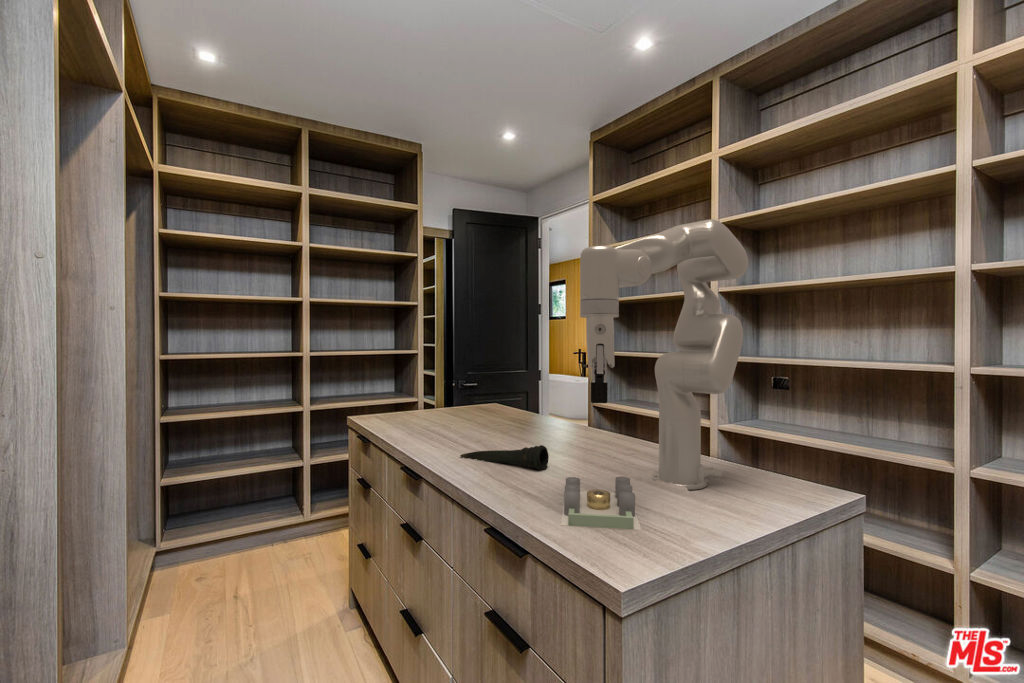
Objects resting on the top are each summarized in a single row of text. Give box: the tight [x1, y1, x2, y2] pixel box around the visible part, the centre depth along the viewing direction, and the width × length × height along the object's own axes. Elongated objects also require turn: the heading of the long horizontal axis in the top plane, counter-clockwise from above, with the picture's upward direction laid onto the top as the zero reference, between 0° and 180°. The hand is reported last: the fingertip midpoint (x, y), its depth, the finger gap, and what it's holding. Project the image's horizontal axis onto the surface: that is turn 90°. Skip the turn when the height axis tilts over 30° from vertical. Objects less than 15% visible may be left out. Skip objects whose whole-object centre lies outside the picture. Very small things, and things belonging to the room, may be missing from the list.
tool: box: [460, 444, 550, 472], centre depth 135 cm, size 28×6×7 cm, turn 54°
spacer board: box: [560, 476, 642, 531], centre depth 95 cm, size 14×20×5 cm
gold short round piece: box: [587, 489, 610, 510], centre depth 96 cm, size 5×5×3 cm
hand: (599, 402), depth 95 cm, fingers closed
